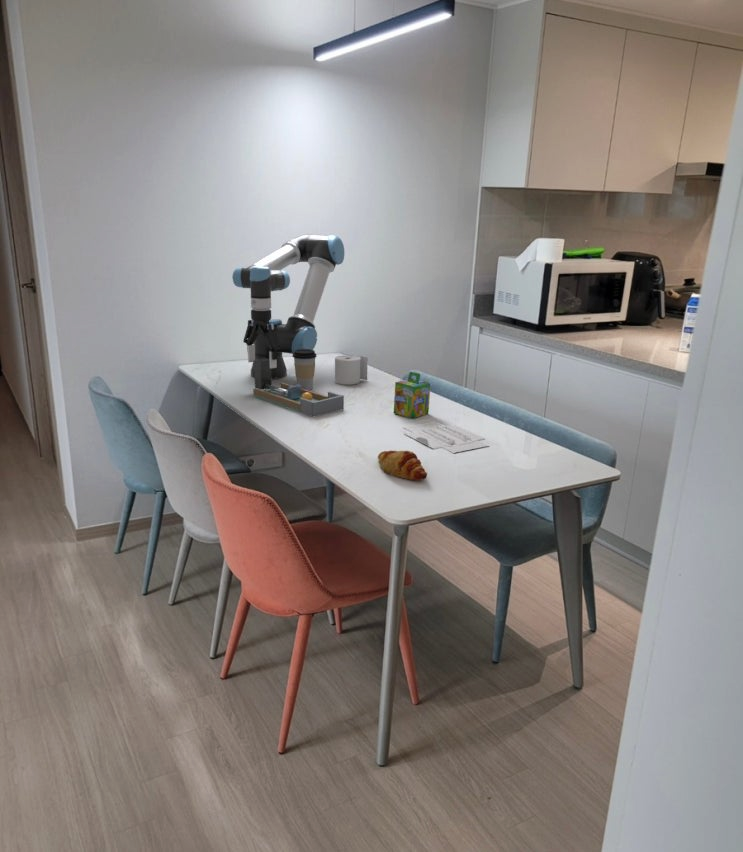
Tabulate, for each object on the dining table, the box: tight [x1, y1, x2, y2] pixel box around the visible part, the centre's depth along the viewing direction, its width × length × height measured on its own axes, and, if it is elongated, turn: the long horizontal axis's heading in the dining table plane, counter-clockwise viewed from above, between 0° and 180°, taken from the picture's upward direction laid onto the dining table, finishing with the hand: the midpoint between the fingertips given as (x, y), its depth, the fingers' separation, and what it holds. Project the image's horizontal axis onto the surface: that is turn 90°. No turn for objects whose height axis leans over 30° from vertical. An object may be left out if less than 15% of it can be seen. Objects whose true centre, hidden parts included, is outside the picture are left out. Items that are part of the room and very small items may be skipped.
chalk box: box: [393, 371, 431, 420], centre depth 248 cm, size 9×9×15 cm
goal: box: [299, 391, 345, 417], centre depth 251 cm, size 14×8×5 cm, turn 135°
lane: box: [252, 382, 328, 413], centre depth 263 cm, size 14×28×4 cm, turn 45°
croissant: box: [377, 450, 428, 481], centre depth 197 cm, size 21×10×8 cm, turn 36°
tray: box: [402, 421, 489, 454], centre depth 227 cm, size 20×28×4 cm
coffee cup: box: [291, 349, 317, 391], centre depth 278 cm, size 9×9×15 cm
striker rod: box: [254, 358, 302, 400], centre depth 267 cm, size 5×22×11 cm, turn 45°
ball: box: [301, 392, 312, 401], centre depth 257 cm, size 4×4×4 cm
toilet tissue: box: [334, 354, 369, 386], centre depth 291 cm, size 11×12×10 cm
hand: (262, 364), depth 271 cm, fingers open, 13 cm apart
